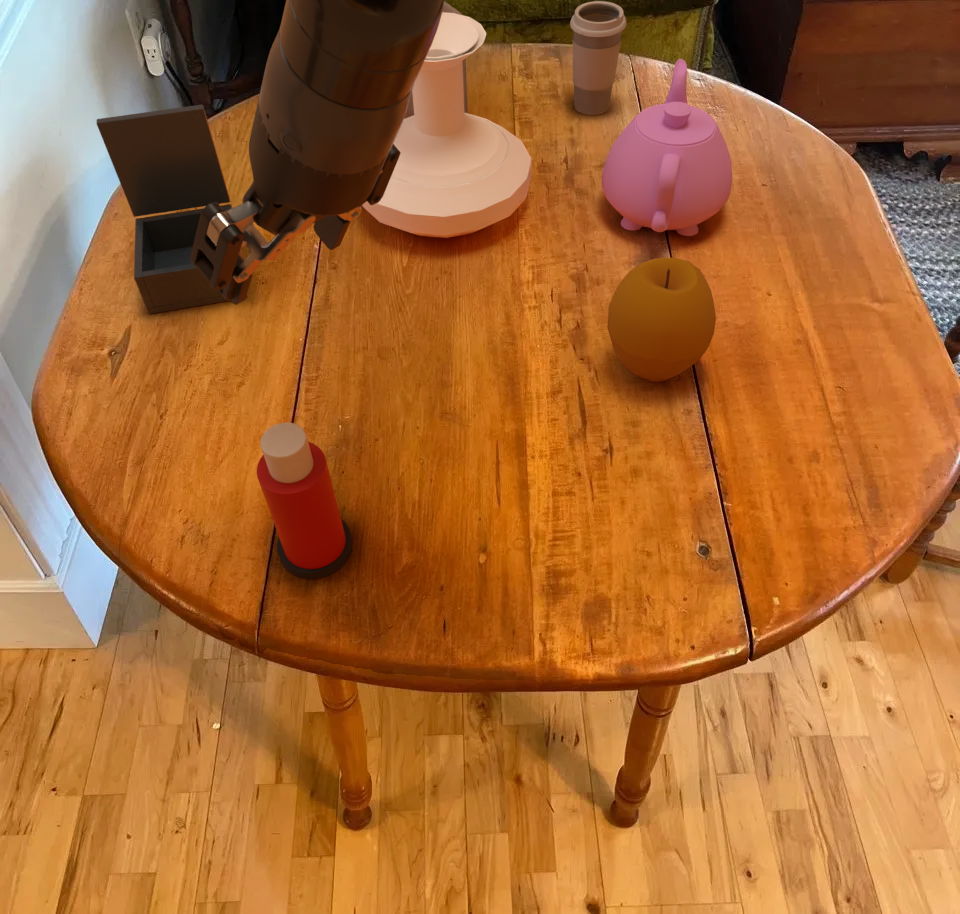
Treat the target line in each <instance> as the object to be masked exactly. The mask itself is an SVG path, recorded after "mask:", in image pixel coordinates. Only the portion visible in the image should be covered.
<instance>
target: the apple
mask: <svg viewBox="0 0 960 914" xmlns="http://www.w3.org/2000/svg"><path fill="white" fill-rule="evenodd" d="M712 293H713V292H712V289H711V286H710V285H709V283H708V281H707V279H706V277H705V275H704V273H703V272H702V270H701V268H699V267H697V266H696V265H695V264H693V263H692V262H690V261H688V260H685V259H682V258H678V257H657V258H652V259H650V260H646V261H643V262H640V263H639V264H637V265H636V266H635V267H633V268H632V269H631V270H629V271H628V272H627V274H626V275H625V276H624V277H623V279H621V281H620V282H619V283H618V284H617V287H616V289H615V290H614V292H613V295H612V297H611V300H610V302H609V304H608V311H607V325H606V326H607V332H608V335H609V338H610V342H611V346H612V348H613V351H614V352H615V354H616V356H617V357H618V358H619V360H620V361H621V363H622V365H623V366H624V367H625V368H626V369H627V370H628V371H629V372H631V373H632V374H634V375H635V376H637V377H639V378H640V379H643V380H646V381H649V382H652V383H656V382H664V381H667V380H669V379H672V378H675V377H676V376H678V375H680V374H681V373H683V372H685V371H687V370H688V369H689V368H691V367H692V366H693V365H695V364H696V363H697V362H699V361H700V359H701V358H702V357H703V356H704V354H706V351H707V350H708V349H709V347H710V344H711V342H712V339H713V337H714V335H715V329H716V319H717V314H716V309H715V308H716V307H715V302H714V297H713V294H712Z"/></svg>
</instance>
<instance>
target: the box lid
mask: <svg viewBox="0 0 960 914" xmlns="http://www.w3.org/2000/svg"><path fill="white" fill-rule="evenodd" d="M96 126H97V129H98V131H99V134H100V136H101V139H102V141H103V143H104V146H105V149H106V151H107V153H108V156H109V159H110V161H111V163H112V166H113V168H114V171H115V173H116V176H117V178H118V180H119V183H120V186H121V189H122V191H123V194H124V196H125V198H126V201H127V204H128V206H129V209H130V210H131V213H132V216H133V217H134V218H135V217H137V218H138V217H144V216H148V215H150V216H151V215H155V214H156V215H157V214H164V213H169V212H175V211H176V212H177V211H183V210H189V209H195V208H202V207H206V206H207V205H208V204H210V203H212V202H217V203H218V204H219V205H220V204H222V205H223V204H228V203H231V197H230V193H229V190H228V187H227V186H228V185H227V183H226V179H225V176H224V173H223V170H222V165H221V162H220V159H219V156H218V152H217V148H216V145H215V141H214V138H213V134H212V130H211V127H210V124H209V121H208V117H207V114H206V110H205V107H204V104H197V105H188V106H182V107H181V106H180V107H174V108H168V109H160V110H153V111H146V112H139V113H132V114H122V115H117V116H116V115H115V116H108V117H102V118H97V119H96Z"/></svg>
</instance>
